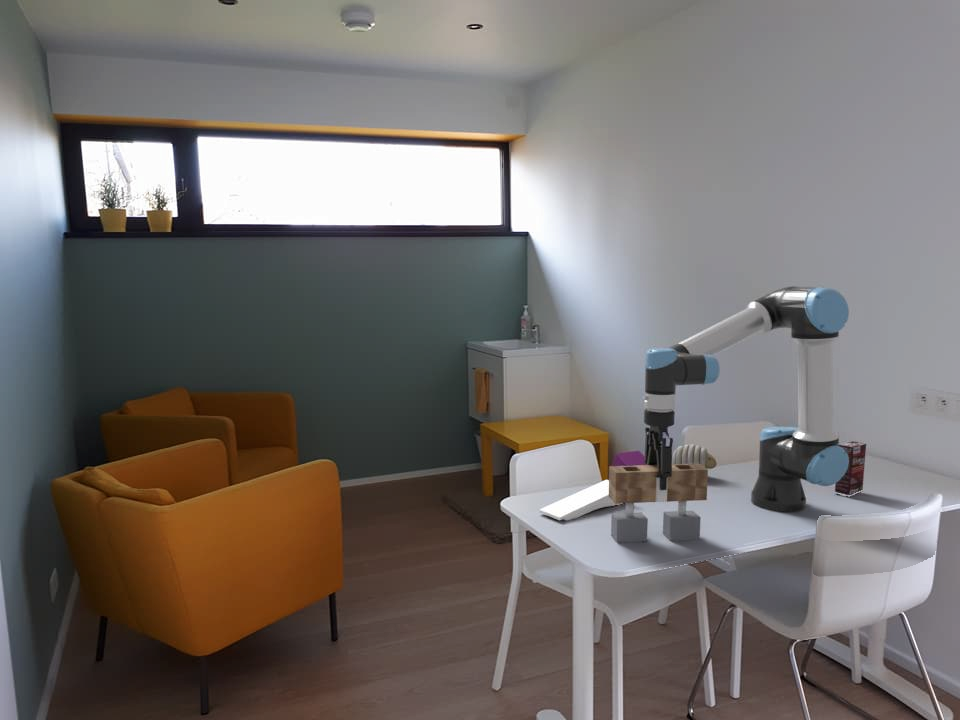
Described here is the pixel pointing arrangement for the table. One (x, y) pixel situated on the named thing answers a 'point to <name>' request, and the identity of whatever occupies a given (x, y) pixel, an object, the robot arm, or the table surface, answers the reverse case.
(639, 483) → the walnut rail
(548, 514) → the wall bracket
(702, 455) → the toy sheep
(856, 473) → the supplement box
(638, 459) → the mounting bracket
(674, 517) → the peg blocks
